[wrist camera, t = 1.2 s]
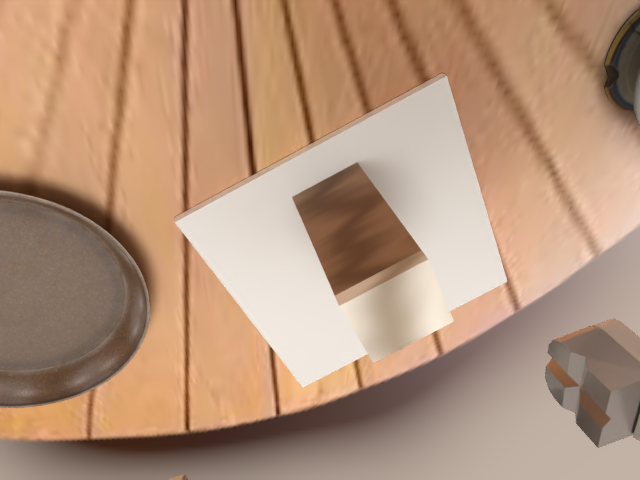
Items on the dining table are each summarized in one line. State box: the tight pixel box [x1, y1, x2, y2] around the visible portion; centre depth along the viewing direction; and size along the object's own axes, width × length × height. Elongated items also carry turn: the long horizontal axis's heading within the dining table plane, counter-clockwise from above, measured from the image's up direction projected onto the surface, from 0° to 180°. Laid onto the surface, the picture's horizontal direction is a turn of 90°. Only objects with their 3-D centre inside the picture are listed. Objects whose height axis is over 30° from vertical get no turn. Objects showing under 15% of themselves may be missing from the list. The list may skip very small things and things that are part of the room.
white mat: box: [175, 73, 507, 387], centre depth 48 cm, size 24×24×1 cm
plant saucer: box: [0, 190, 150, 408], centre depth 41 cm, size 21×21×3 cm
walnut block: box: [292, 162, 454, 363], centre depth 39 cm, size 6×6×14 cm
